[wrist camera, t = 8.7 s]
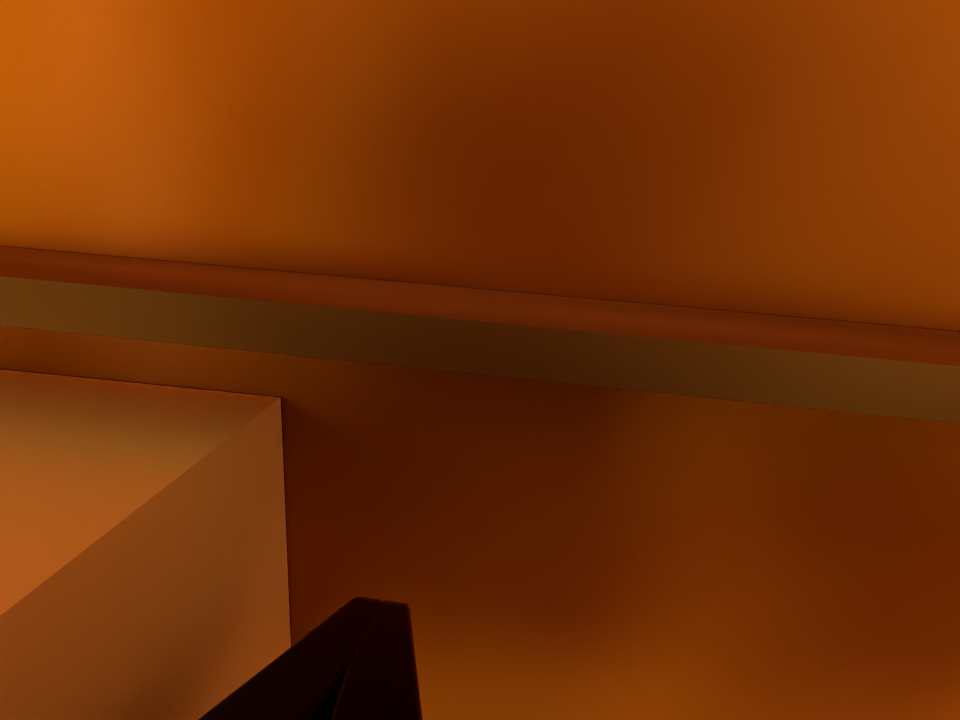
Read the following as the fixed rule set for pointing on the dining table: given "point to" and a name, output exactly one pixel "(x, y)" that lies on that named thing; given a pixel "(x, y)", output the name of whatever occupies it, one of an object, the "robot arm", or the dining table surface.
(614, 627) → the dining table surface
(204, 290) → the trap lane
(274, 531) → the cream block
